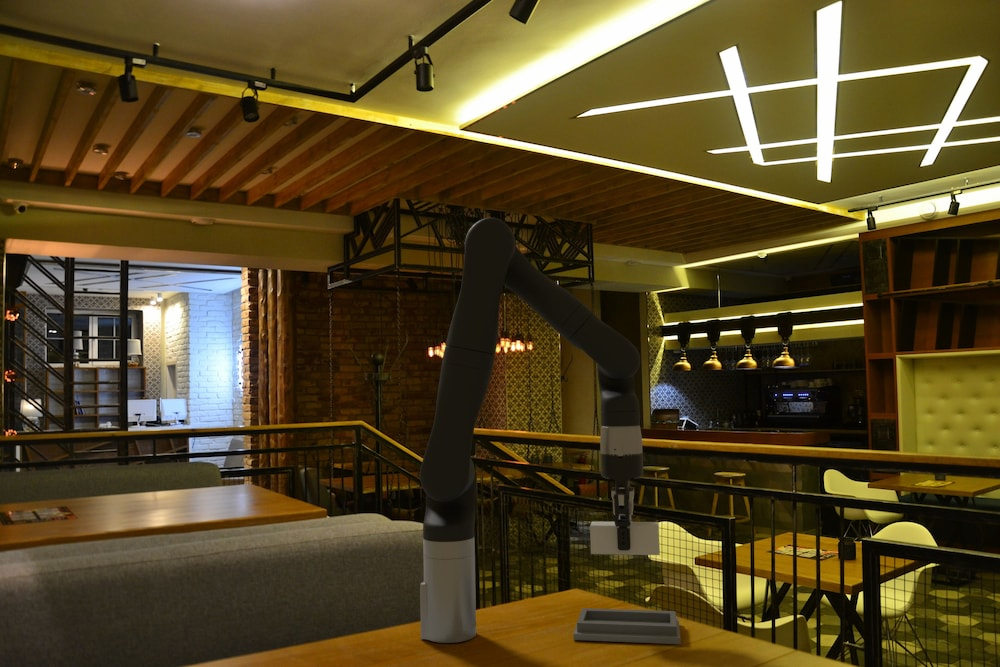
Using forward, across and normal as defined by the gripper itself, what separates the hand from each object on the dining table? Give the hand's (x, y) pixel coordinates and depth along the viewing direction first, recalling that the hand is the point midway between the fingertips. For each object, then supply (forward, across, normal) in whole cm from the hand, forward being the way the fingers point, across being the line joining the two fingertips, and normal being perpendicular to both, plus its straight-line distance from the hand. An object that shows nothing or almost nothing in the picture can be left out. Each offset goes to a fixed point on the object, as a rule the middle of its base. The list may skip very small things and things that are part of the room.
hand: (624, 546), depth 139 cm
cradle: (+15, 0, 0) cm, 15 cm away
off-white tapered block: (+1, 0, 0) cm, 1 cm away
